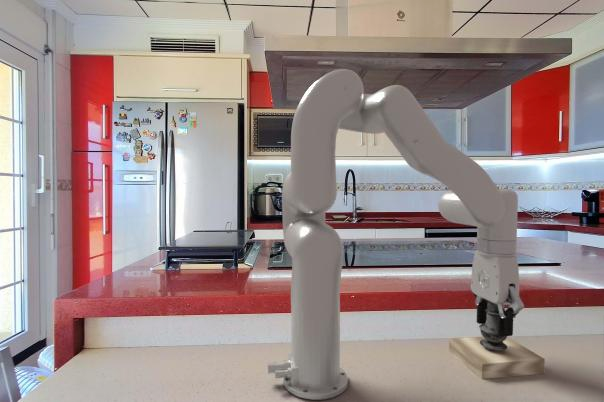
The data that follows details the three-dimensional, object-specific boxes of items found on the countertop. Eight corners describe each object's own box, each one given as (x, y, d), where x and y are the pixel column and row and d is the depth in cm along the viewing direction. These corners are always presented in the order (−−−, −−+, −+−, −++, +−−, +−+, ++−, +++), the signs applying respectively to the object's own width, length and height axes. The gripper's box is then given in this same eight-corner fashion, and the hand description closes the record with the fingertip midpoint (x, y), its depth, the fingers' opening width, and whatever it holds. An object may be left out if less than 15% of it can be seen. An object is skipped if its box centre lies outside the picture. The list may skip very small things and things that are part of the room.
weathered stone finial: (512, 352, 77) (515, 295, 76) (482, 349, 78) (484, 293, 77) (503, 340, 82) (505, 287, 82) (475, 337, 84) (477, 285, 83)
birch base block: (481, 378, 73) (482, 364, 73) (448, 351, 85) (449, 338, 85) (544, 373, 75) (544, 358, 75) (503, 347, 87) (503, 334, 87)
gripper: (457, 241, 87) (455, 315, 88) (508, 255, 70) (506, 347, 71) (486, 240, 88) (484, 314, 89) (543, 254, 71) (540, 345, 72)
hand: (493, 328), depth 80 cm, fingers open, 6 cm apart
